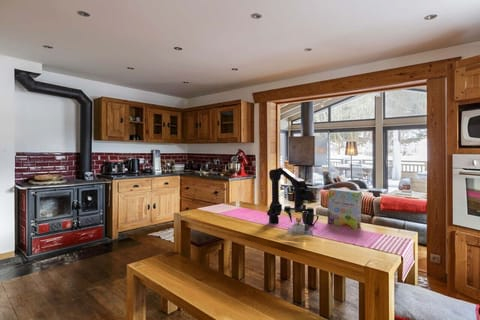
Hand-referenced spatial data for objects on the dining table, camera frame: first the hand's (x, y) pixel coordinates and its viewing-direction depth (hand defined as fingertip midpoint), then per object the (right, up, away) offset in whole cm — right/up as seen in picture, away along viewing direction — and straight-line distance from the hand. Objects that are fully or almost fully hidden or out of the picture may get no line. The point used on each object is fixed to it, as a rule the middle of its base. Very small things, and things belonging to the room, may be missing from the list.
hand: (298, 222), depth 175 cm
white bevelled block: (+1, -6, 0) cm, 6 cm away
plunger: (0, -5, 0) cm, 5 cm away
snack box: (+37, -7, +20) cm, 43 cm away
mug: (+12, -6, +16) cm, 21 cm away
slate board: (+1, -7, 0) cm, 7 cm away
